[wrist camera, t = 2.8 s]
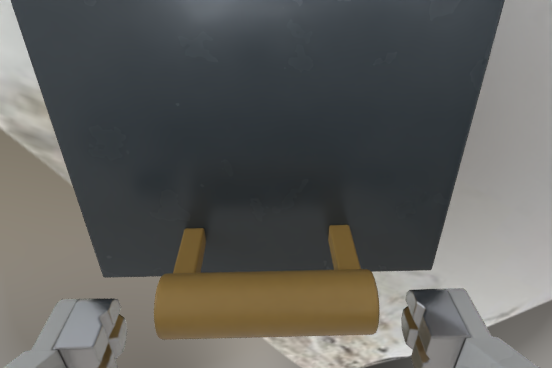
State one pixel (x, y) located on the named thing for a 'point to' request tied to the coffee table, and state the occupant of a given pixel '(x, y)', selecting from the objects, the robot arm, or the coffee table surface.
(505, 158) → the coffee table surface
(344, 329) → the bin lid
